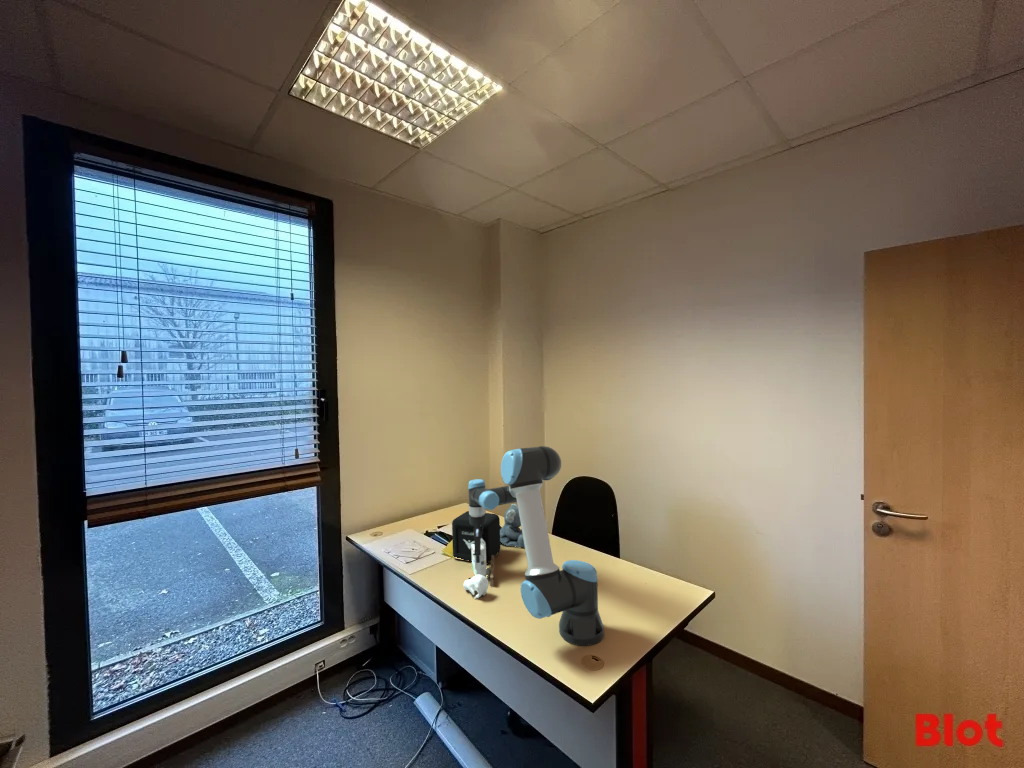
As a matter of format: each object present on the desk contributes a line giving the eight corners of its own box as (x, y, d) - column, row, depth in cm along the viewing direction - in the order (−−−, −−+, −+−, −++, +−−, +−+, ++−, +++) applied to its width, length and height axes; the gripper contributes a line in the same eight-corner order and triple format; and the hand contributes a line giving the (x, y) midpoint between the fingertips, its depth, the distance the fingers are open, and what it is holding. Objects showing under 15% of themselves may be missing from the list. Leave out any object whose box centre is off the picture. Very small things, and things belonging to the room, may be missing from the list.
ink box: (471, 569, 186) (470, 537, 186) (481, 567, 187) (480, 535, 188) (476, 578, 178) (475, 544, 178) (487, 575, 179) (486, 542, 179)
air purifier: (450, 560, 198) (449, 519, 198) (465, 548, 211) (464, 510, 211) (487, 566, 190) (486, 524, 190) (500, 554, 204) (499, 514, 203)
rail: (493, 586, 171) (492, 577, 171) (490, 586, 171) (490, 577, 171) (494, 563, 193) (493, 555, 193) (491, 563, 193) (491, 555, 193)
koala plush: (527, 549, 208) (526, 511, 208) (493, 548, 211) (492, 510, 211) (531, 536, 225) (530, 501, 225) (500, 535, 228) (499, 500, 228)
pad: (488, 578, 178) (488, 577, 178) (468, 579, 178) (468, 577, 178) (489, 568, 187) (489, 567, 187) (469, 569, 187) (469, 568, 187)
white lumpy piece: (478, 579, 159) (458, 573, 167) (480, 602, 159) (459, 594, 167) (489, 573, 164) (469, 568, 172) (491, 595, 164) (471, 588, 172)
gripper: (484, 522, 172) (486, 575, 172) (486, 506, 194) (488, 553, 194) (467, 523, 171) (468, 575, 171) (471, 507, 194) (472, 553, 194)
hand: (478, 563), depth 183 cm, fingers open, 10 cm apart
